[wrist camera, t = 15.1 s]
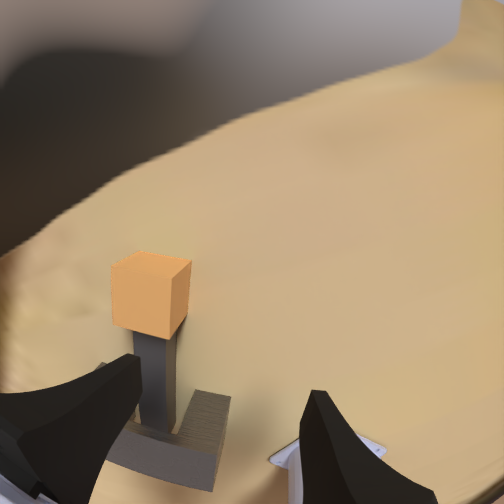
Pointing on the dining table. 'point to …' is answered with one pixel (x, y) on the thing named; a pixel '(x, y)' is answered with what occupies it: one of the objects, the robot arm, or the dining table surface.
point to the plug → (153, 325)
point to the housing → (177, 444)
